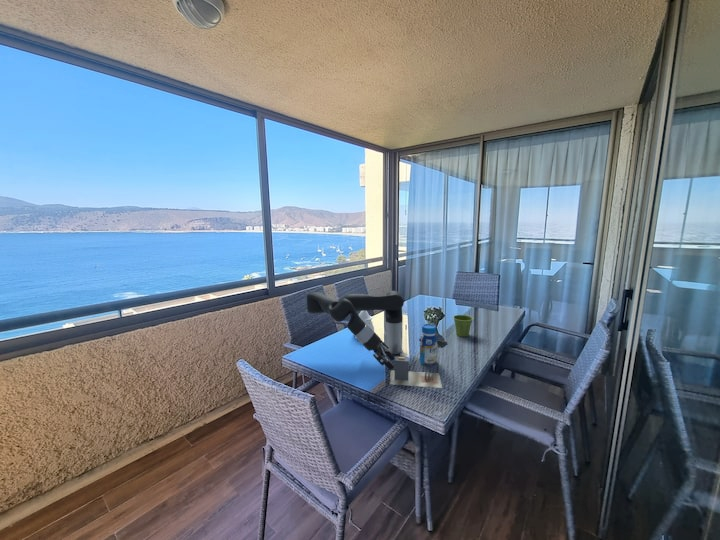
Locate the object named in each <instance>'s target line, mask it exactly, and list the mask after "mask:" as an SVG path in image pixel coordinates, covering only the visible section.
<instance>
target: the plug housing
mask: <svg viewBox="0 0 720 540" xmlns="http://www.w3.org/2000/svg"><path fill="white" fill-rule="evenodd" d="M394 357H395V359H394V370H395V380H408V371H409V363H410V362H409V361H410V360H409V357H408V356H394Z"/></svg>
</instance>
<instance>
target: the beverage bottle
mask: <svg viewBox="0 0 720 540" xmlns="http://www.w3.org/2000/svg"><path fill="white" fill-rule="evenodd" d="M421 332H422V333H421V335H420V338H419V339H420V340H421V341H419V362H420V364H421V365H425V366H434V365H437V363H438V361H437V357H438V356H437V355H438V346H437V339H438V337H437V335H436V333H437V326H436V325H435V324H433V323H425V324H422V326H421Z"/></svg>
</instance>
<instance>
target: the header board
mask: <svg viewBox="0 0 720 540" xmlns="http://www.w3.org/2000/svg"><path fill="white" fill-rule="evenodd" d="M389 376H390V377H389V385H392V386H393V385H396V386H407V387H409V386H411V387H423V388H424V387H426V388H435V389H436V388H438V389H443V385H442V384H443V383H442V381H441V376H440V373H438V372H425V371H424V372H422V371H410V370H408V380H395V369H394V370H393V369H392V370H390V373H389Z"/></svg>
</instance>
